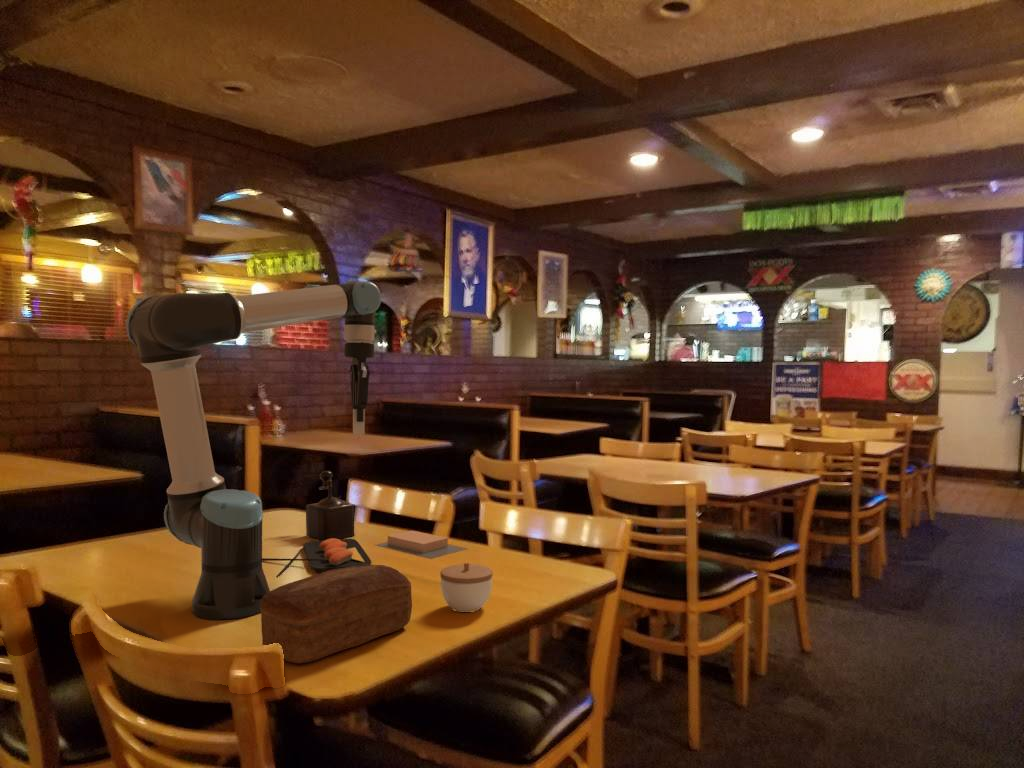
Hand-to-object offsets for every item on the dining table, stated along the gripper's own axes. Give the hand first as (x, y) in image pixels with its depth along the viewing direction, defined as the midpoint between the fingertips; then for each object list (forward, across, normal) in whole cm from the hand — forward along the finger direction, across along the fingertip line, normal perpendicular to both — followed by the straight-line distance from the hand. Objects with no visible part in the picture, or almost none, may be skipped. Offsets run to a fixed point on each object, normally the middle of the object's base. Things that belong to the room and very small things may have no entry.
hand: (358, 434), depth 189 cm
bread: (+33, -54, +15) cm, 65 cm away
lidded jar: (+33, -47, -12) cm, 58 cm away
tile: (+30, -2, -20) cm, 36 cm away
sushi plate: (+33, +4, +13) cm, 35 cm away
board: (+32, +3, -18) cm, 37 cm away
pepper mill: (+32, +31, +2) cm, 45 cm away
